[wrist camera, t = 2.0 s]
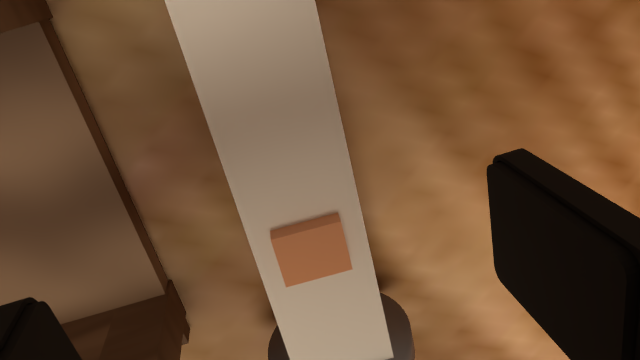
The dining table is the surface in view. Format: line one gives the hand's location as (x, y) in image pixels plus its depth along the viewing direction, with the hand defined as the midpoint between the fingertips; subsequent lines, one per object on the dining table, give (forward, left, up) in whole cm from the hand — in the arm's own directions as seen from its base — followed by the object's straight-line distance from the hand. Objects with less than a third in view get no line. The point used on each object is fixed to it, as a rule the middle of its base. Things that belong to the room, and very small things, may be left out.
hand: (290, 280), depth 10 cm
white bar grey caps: (-1, 0, -11) cm, 11 cm away
